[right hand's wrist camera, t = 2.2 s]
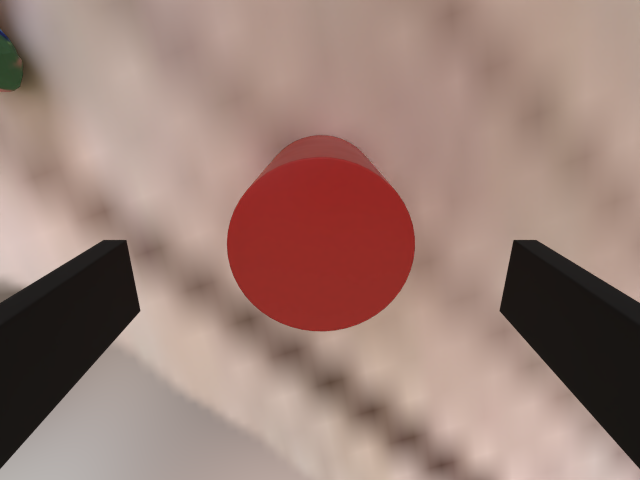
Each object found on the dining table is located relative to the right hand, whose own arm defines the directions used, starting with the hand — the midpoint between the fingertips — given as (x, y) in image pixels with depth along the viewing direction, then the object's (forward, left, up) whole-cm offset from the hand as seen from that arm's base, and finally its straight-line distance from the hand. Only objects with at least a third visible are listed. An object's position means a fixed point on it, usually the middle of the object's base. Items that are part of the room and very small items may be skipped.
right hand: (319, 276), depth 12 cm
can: (0, 0, -11) cm, 11 cm away
